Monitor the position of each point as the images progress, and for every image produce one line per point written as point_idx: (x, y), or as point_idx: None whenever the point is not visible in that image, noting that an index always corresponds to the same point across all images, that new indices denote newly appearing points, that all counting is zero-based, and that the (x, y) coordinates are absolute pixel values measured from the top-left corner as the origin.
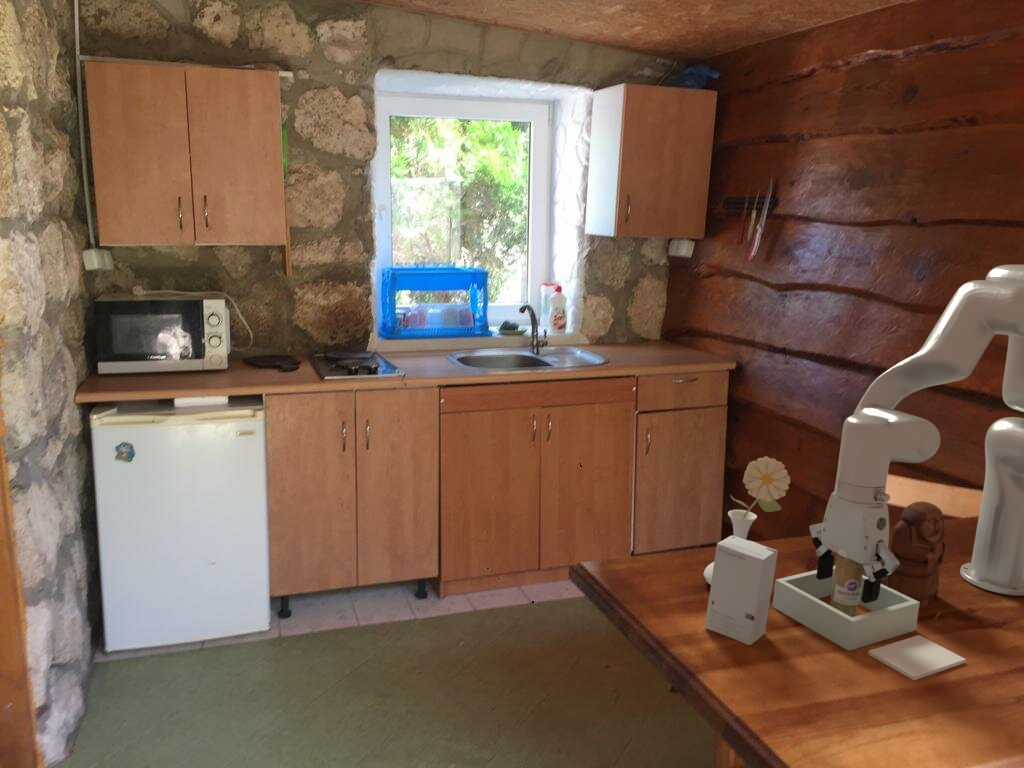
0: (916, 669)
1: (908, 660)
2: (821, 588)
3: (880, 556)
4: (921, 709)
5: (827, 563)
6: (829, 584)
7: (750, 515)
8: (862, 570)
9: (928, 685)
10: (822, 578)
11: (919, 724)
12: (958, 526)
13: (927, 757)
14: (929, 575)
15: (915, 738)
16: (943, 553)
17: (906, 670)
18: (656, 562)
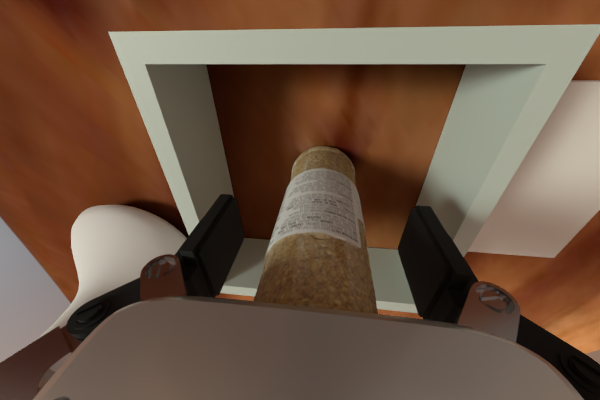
0: (553, 236)
1: (529, 221)
2: (209, 144)
3: (497, 355)
4: (572, 298)
5: (219, 259)
6: (197, 113)
7: None
8: (371, 279)
9: (579, 245)
10: (241, 231)
11: (573, 320)
12: None
13: (590, 350)
14: None
15: (570, 338)
16: None
17: (533, 252)
18: (65, 271)
